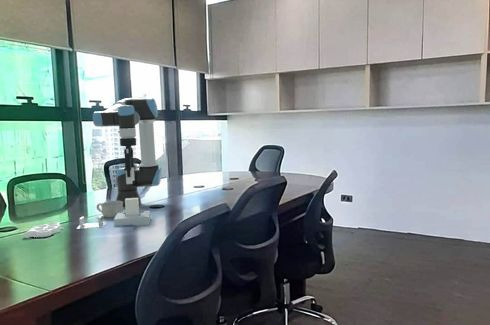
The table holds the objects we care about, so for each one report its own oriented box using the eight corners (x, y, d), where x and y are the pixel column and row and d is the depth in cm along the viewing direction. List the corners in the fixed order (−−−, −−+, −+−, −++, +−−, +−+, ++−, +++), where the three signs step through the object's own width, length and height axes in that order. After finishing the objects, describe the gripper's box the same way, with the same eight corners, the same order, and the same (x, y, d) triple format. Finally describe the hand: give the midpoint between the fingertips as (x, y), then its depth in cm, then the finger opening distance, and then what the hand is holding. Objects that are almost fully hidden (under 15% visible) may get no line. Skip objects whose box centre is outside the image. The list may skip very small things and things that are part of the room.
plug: (127, 222, 197) (125, 198, 196) (139, 221, 198) (138, 197, 197) (126, 224, 193) (124, 199, 192) (139, 223, 194) (137, 199, 193)
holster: (80, 225, 194) (80, 215, 193) (106, 223, 196) (105, 213, 195) (76, 230, 184) (75, 220, 183) (103, 228, 186) (102, 218, 186)
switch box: (118, 220, 201) (117, 212, 200) (150, 218, 204) (149, 210, 203) (114, 227, 187) (113, 218, 187) (149, 224, 190) (148, 215, 190)
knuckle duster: (35, 230, 188) (67, 228, 190) (20, 241, 170) (56, 238, 173) (34, 223, 188) (67, 221, 190) (19, 233, 170) (56, 231, 172)
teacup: (127, 215, 212) (126, 200, 212) (114, 220, 202) (113, 204, 201) (106, 214, 217) (105, 200, 216) (92, 219, 207) (91, 204, 206)
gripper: (122, 137, 203) (125, 179, 205) (116, 138, 179) (119, 186, 181) (137, 136, 204) (140, 178, 206) (133, 138, 181) (136, 185, 183)
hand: (130, 182), depth 194 cm, fingers open, 12 cm apart
